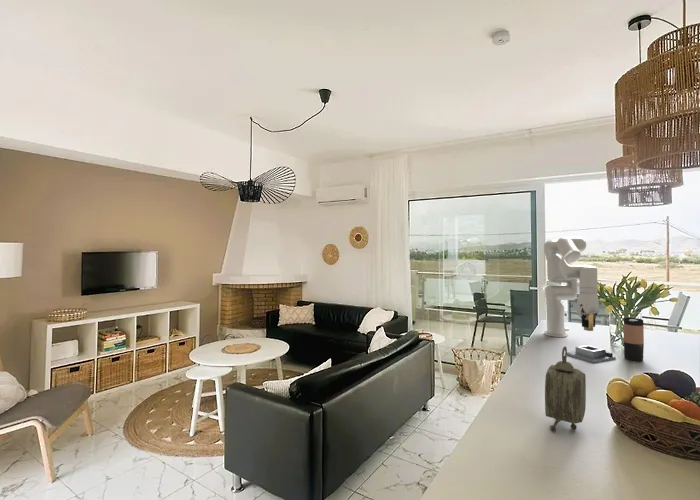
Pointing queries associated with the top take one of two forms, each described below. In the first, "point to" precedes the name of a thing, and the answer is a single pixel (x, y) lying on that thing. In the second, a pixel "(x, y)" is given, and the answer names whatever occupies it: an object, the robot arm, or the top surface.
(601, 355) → the jig
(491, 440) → the top surface
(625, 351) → the travel mug
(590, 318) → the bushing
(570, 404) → the rustic cowbell
